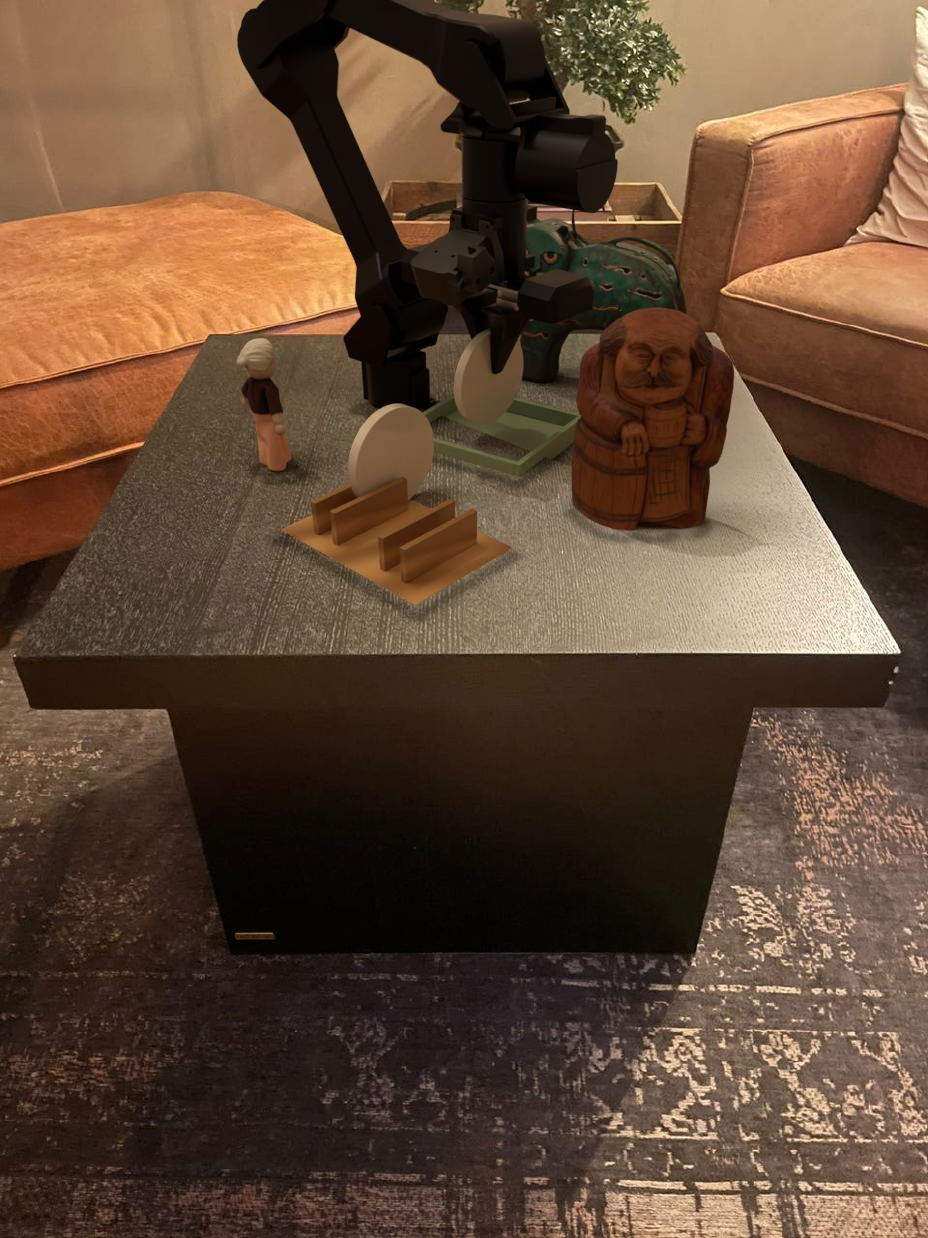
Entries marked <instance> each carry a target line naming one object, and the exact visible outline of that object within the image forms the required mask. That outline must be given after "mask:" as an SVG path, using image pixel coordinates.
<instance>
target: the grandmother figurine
mask: <svg viewBox="0 0 928 1238" xmlns="http://www.w3.org/2000/svg"><path fill="white" fill-rule="evenodd" d="M273 354H274V348H273V344H272V343H271V342H270V341H269V340H268V339H267V338H264V337H260V338H253V339H251V340H249V341H248V342H247V343H245V344H244V346H243V348H242V349H241V351H240V353H239V355H238V356H237V359H236V361H235V362H236V365H237V366H238V367H240V368H246V371H247V373H248V375H250V377H248V378H247V379H246V380H245V381H244V383H243V385H242V386H241V389H240V391H241V394H242V401H241V403H242V406H243V407H245V408H246V409H247V408H248V409H249V408H250V410H251V412H252V415H253V419H254V423H255V430H256V435H257V446H258V458H259V462H260V464H262V465H264V466H267V468H268V469H269V471H273V472H281V471H284V470H286V468H287V463H289V462H290V461H291V460H292V459H293V457H292V452H291V448H290V444H289V441H288V437H287V434H286V433H287V427H286V425H285V417H284V409H283V405H282V403H281V399H280V389H279V387H278V385H276V383H275V382H274V381H273V380H272V378H271V377H272V376H273V375H274V373H275V371H276V366H277V365H276V360H275V357H274V356H273Z"/></svg>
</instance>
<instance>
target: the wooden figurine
mask: <svg viewBox="0 0 928 1238" xmlns="http://www.w3.org/2000/svg"><path fill="white" fill-rule="evenodd" d="M598 341H599V343H595V344H594V345H592V346H591V347H590V348H588V349H587V350H586V351H584V353H583V355H582V356H581V360H580V367H579V378H578V379H579V380H578V390H577V394H576V400H575V402H576V408H577V411H578V413H579V414H580V416H581V417H580V419H578V421H577V424H576V428H575V434H574V443H572V444H573V445H572V454H571V455H572V457H571V501H572V505H573V507H574V508H575V509H576V510H577V511H578V512H579V513H580V514H582V515H583V517H585V518H587V519H588V520H590V521H592V522H594V523H596V524H598V525H600V526H603V527H606V528H609V529H610V528H611V529H613V530H619V531H633V530H635V529H636V528H647V529H648V528H649V529H660V528H669V527H670V528H671V527H672V528H675V529H683V530H685V529H692V528H696V527H698V526H700V525H702V524H703V523H704V522H705V519H706V515H707V509H708V508H707V507H708V502H709V501H708V500H709V493H710V485H711V473H710V472H711V471H710V469H711V468H713V467H715V466H716V465H717V464H718V463H719V461H720V460H721V457H722V454H723V451H724V448H725V442H726V438H727V433H728V428H727V427H728V421H729V418H730V413H731V405H732V399H733V394H734V384H735V383H734V382H735V367H734V363H733V361H732V359H731V358H730V356H729V355H728V353H726V352H725V351H723V350H722V349H720V348H718V347H717V346H716V345H715V346H714V345H713V344H712V342H711V340H710V339H709V337H708V335H707V333H706V332H705V330H704V329H703V327H702V326H701V325H700V324H699V323H698V322H697V321H696V320H695V319H694V318H693V317H691V316H690V315H688V314H687V315H686V314H684V313H682V312H680V311H677V310H673V309H667V308H644V309H639V310H635V311H633V312H630V313H628V314H626V315H624V316H623V317H621V318H619V319H617V320H616V321H614V322H613V323H612V324H611V325H610V326H609V327H608V328H606V329H605V330H604V331H603V330H602V332H601V334H600V335H599V340H598Z"/></svg>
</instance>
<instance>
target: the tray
mask: <svg viewBox="0 0 928 1238" xmlns="http://www.w3.org/2000/svg"><path fill="white" fill-rule="evenodd" d="M422 413H423V414H424V415H425V416H426V418H427V419H428V421H429V423H430V424H431V423H432V422H434V421H435V420H438V419H439V418H440V417H442V418H445V419H448V420H450V421H453V422H456V423H457V424H461V425H463V426H466V427H468V428H471V429H473V430H476V431H478V432H481V433H484V434H486V435H489V436H491V437H494V438H497V439H499V440H500V441H504V442H506V443H509V444H512V445H515V446H517V447H520V448H522V449H525V450H527V451H529V452H528V453H527V454H525V455H524V456H523V457H522V458H520V459H518V461H517V460H513V459H510V458H505V457H503V456H498V455H496V454H492V453H488V452H486V451H482V450H478V449H474V448H471V447H468V446H464V445H461V444H457V443H454V442H450V441H446V440H443V439H440V438H436V437H434V452H433V453H437V454H440V455H443V456H446V457H450V458H454V459H457V460H461V461H464V462H466V463H467V462H468V463H471V464H474V465H478V466H481V467H485V468H488V469H490V470H491V469H492V470H495V471H498V472H501V473H505V474H507V475H512V476H515V477H517V478H520V477H521V476H522V475H524V474H525V473H527V472H528V471H529V470H530V469H532V468H533V467H534V466H535V465H536V464H538V463H539V462H540V461H542V460H543V459H545V458H547V459H549V460H553V459H555V458H556V457H558V455H560V454H561V453H562V452H564V451H565V450H567V448H569V447H570V446H571V445H572V444H573V443H574V434H575V428H576V424H577V421H578V419H580V417H581V416H580V413H579V412H575V411H570V410H567V409H562V408H559V407H555V406H551V405H547V404H542V403H539V402H534V401H531V400H527V399H522V398H519V397H515V399H514V400H513V402H512V404H511V405H510V407H509V408H508V409H507V411H506V412H505V413H504V414H503V415H502V416H501V417H500V418H498V419H497V420H495V421H493V422H491V423H488V424H477V423H474V422H472V421H469V420H467V419H466V418H464V417H463V416H462V415H461V413H460V412H459V410H458V408H457V406H456V403H455V399H454V393H453V394H451V395H449V396H447V397H446V398H444V399H442V400H441V401H440V402H438V403H436V404H435V405H433V406H431V407H430V408H428V409H426V410H424V411H423V412H422Z"/></svg>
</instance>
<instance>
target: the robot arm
mask: <svg viewBox="0 0 928 1238" xmlns="http://www.w3.org/2000/svg"><path fill="white" fill-rule="evenodd" d="M350 30H353V31H355V32H357V33H359V34H361V35H364V36H366V37H367V38H370V39H372V40H374V41H376V42H378V43H379V44H382V45H384V46H386V47H388V48H391V49H393V50H395V51H397V52H399V53H400V54H402V55H405V56H407V57H409V58H412V59H413V60H415V61H418V62H419V63H420V64H422V65H423V66H424V67H426V68H427V69H429V70H430V72H431V74H432V76H433V79H434V80H435V82H436V83H437V85H438V86H439V87H440V88H442V89H443V90H444V91H446V92H447V93H448V94H449V95H451V96H452V97H453V98H455V99H456V100H458V102H457V104H456V106H455V108H454V110H452V112H451V113H450V114H449V115H448V116H447V117H446V118H445V119H444V120H443V121H442V122H441V123H440V130H441V132H442V133H448V134H454V135H460V136H461V206H458V207H454V208H452V209H451V214H450V215H449V227H448V230H447V232H446V234H444V235H442V236H440V237H437V238H436V239H435V240H433V241H431V242H428V243H424V244H420V245H416V246H413V247H410V248H408V247H407V246H405V245H404V244H403V242H402V240H401V238H400V236H399V234H398V232H397V229H396V227H395V225H394V222H393V220H392V218H391V215H390V213H389V211H388V210H387V209H388V208H387V207H386V204H385V202H384V200H383V198H382V195H381V193H380V191H379V189H378V187H377V184H376V182H375V180H374V177H373V175H372V173H371V170H370V168H369V165H368V163H367V161H366V159H365V157H364V154H363V152H362V150H361V148H360V146H359V142H358V141H357V139H356V137H355V134H354V132H353V130H352V127H351V124H350V123H349V121H348V118H347V116H346V113H345V112H344V109H343V107H342V105H341V103H340V100H339V96H338V90H339V73H340V62H339V58H338V56H337V52H336V49H337V48H338V47H340V45H341V44H342V43H343V42H344V41H345V40H346V39H347V38H348V36H349V32H350ZM236 43H237V51H238V54H239V57H240V61H241V62H242V63H241V64H242V65H243V66H244V68H245V70H246V72H247V74H248V75H249V77H250V79H251V80H252V82H253V83H254V85H255V87H256V88H257V90H258V92H259V93H260V95H261V96H262V97H263V98H264V99H265V100H266V101H267V102H269V103H270V104H271V105H272V106H273V107H274V108H275V109H276V110H278V111H279V112H280V113H282V115H284V116H285V117H286V118H287V119H288V120H289V121H290V123H291V125H292V127H293V129H294V132H295V133H296V137H297V138H298V141H299V143H300V145H301V146H302V149H303V151H304V154H305V156H306V158H307V160H308V162H309V165H310V166H311V169H312V171H313V173H314V175H315V178H316V180H317V182H318V184H319V186H320V189H321V191H322V193H323V195H324V198H325V200H326V202H327V204H328V207H329V208H330V211H331V213H332V215H333V217H334V220H335V222H336V224H337V226H338V228H339V231H340V233H341V235H342V237H343V238H344V242H345V244H346V246H347V248H348V250H349V252H350V254H351V257H352V259H353V261H354V264H355V285H354V301H355V303H356V306H357V307H356V308H357V309H358V312H359V317H358V319H356V321H355V322H354V323H353V325H352V326H351V327H350V329H349V330H348V331H347V332H346V333H345V334H344V335H343V337H342V340H343V343H344V346H345V350H346V353H347V355H348V358H349V359H351V360H354V361H358V362H360V365H361V376H362V377H361V380H362V393H363V394H362V395H363V399H364V400H366V401H368V403H369V404H370V406H372V407H373V408H375V409H378V410H379V409H381V408H382V407H385V406H387V405H391V404H398V403H399V404H405V405H408V406H411V407H413V408H416V409H417V410H419V411H421V410H424V411H426V410H428V409H429V408H431V407H433V406H434V405H436V404H437V399H436V398H434V397H431V380H430V379H431V378H430V377H431V376H430V368H428V367H427V352H426V351H422V350H425V349H427V348H429V347H434V346H436V345H437V344H438V339H439V335H440V333H441V330H442V329H443V327H444V325H445V323H446V319H447V314H448V312H449V306H450V307H453V308H454V309H455V310H457V311H458V313H460V315H461V317H462V319H463V321H464V324H465V326H466V329H467V331H468V334H469V337H470V340H472V339H473V338H474V337H475V336H476V335H478V334H479V333H481V332H482V331H484V330H487V329H490V342H491V368H492V373H493V374H498V373H501V372H502V371H503V369H504V367H505V365H506V363H507V361H508V359H509V357H510V355H511V353H512V351H513V348H514V346H515V344H516V342H517V340H518V341H519V339H520V336H521V333H522V331H523V329H524V327H525V326H526V324H527V322H528V321H529V319H533V320H537V321H540V322H544V323H547V324H548V323H559V322H561V321H564V320H566V319H569V318H572V317H574V316H577V315H579V314H582V313H584V312H587V311H589V310H592V309H593V299H594V287H593V284H592V283H591V281H590V280H589V278H588V277H587V276H583V275H579V274H575V273H571V272H567V271H563V270H559V269H555V270H552V271H550V272H547V273H544V274H541V275H538V276H535V277H531V276H527V275H525V270H528V269H531V268H534V267H535V256H533V255H529V254H526V241H527V222H528V221H531V220H535V219H538V206H535V205H530V204H529V202H530V203H532V204H537V205H543V206H549V207H554V208H559V209H565V210H571V211H573V210H575V211H577V212H582V213H587V214H595V213H598V212H599V211H600V210H602V207H603V206H604V207H605V205H606V204H607V202H608V200H609V199H610V197H611V195H612V192H613V190H614V187H615V184H616V179H617V174H618V165H619V161H618V159H617V158H616V150H615V145H614V143H613V139H612V138H611V137H610V136H609V134H607V133H606V131H607V130H606V129H607V128H606V126H607V118H606V116H605V115H603V114H591V113H590V114H586V115H576V114H571V111H570V107H569V106H568V103H567V101H566V99H565V97H564V94H563V91H561V88H560V86H559V84H558V82H557V80H556V77H555V75H554V73H553V71H552V69H551V66H550V64H549V62H548V60H547V58H546V53H545V47H544V44H543V41H542V33H541V31H540V30H539V29H538V27H537V26H536V25H534V24H533V23H531V22H530V21H528V20H526V19H522V18H516V17H511V16H503V15H497V14H489V13H479V12H478V13H477V12H466V11H460V10H454V9H452V8H450V7H448V6H446V5H444V4H441V3H439V2H437V1H434V0H262V1H261V2H260V3H259V4H258V5H257V6H256V7H254V8H249V10H248V11H247V12H245V13H244V15H243V17H242V19H241V22H240V27H239V29H238V31H237V38H236ZM528 99H529V100H528Z"/></svg>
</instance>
